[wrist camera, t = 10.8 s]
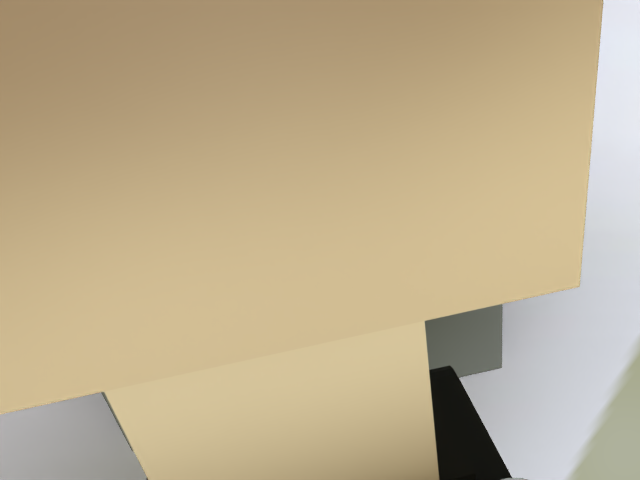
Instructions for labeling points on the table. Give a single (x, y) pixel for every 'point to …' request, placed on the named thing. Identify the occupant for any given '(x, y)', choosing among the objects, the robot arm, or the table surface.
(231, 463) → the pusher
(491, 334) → the rest mat
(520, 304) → the table surface
